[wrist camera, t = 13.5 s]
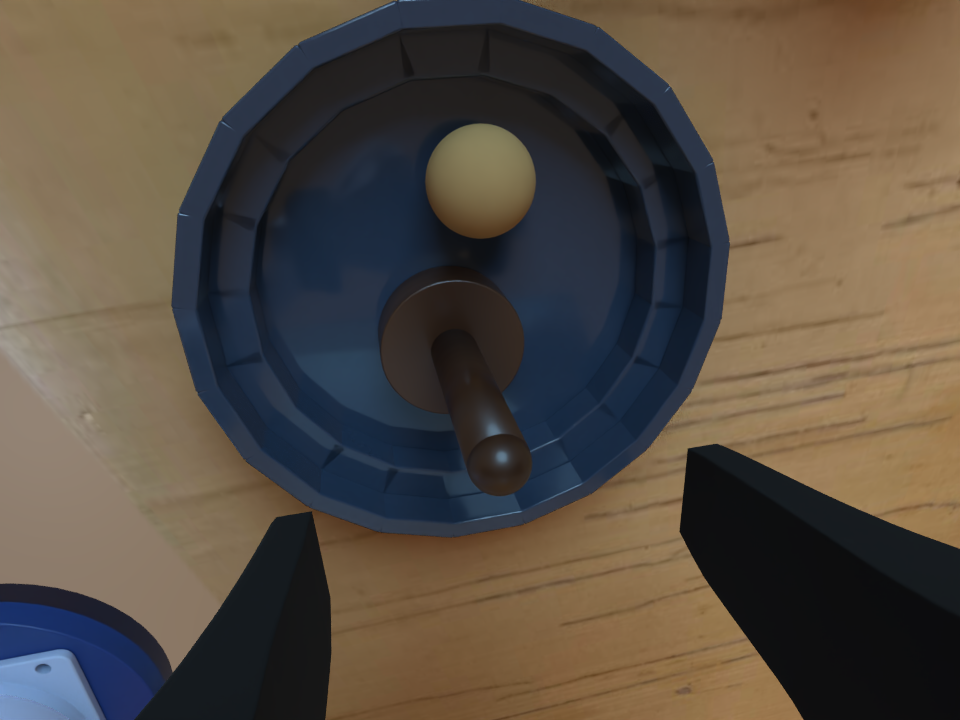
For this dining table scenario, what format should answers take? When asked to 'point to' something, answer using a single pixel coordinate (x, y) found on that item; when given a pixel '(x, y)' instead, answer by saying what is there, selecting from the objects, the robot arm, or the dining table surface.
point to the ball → (480, 181)
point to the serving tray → (447, 259)
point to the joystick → (460, 366)
